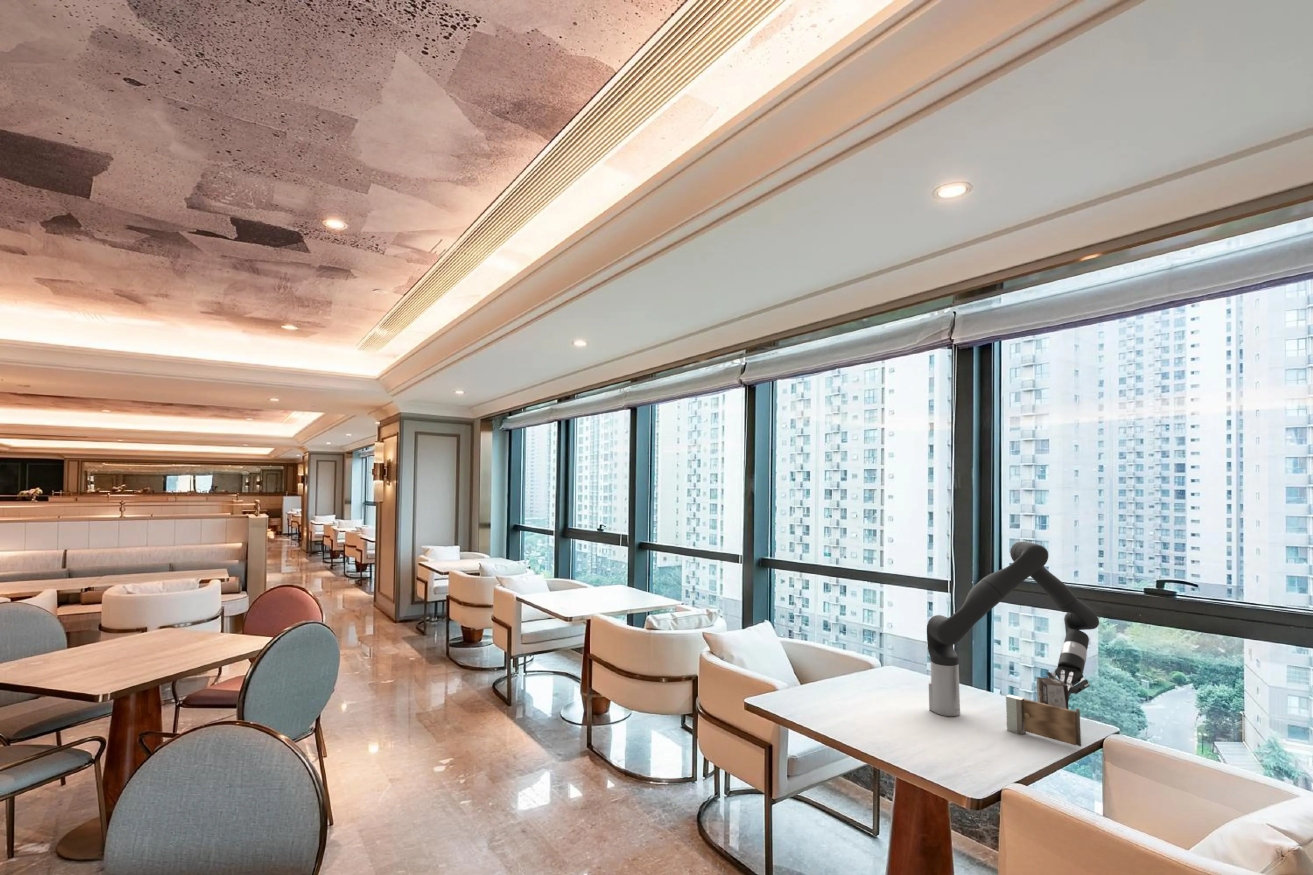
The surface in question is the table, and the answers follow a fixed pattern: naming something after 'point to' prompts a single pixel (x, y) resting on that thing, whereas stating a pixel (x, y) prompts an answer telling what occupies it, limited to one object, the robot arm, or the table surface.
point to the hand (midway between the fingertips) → (1062, 701)
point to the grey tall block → (1015, 714)
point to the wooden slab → (1052, 722)
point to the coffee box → (1052, 692)
